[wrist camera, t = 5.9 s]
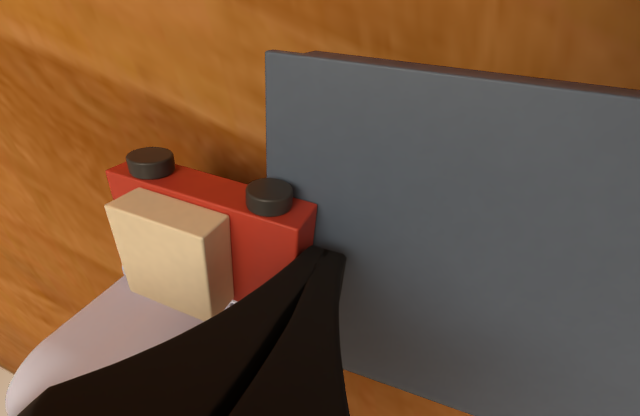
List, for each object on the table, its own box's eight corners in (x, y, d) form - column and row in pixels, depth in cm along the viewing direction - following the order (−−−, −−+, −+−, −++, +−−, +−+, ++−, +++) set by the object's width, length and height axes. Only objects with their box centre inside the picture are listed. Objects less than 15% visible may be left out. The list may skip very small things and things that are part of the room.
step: (296, 291, 18) (268, 343, 15) (309, 43, 11) (264, 50, 8) (564, 373, 15) (594, 459, 12) (796, 100, 8) (990, 142, 5)
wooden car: (162, 249, 14) (104, 294, 12) (139, 138, 11) (57, 168, 9) (306, 301, 12) (272, 366, 10) (320, 186, 10) (278, 238, 7)
